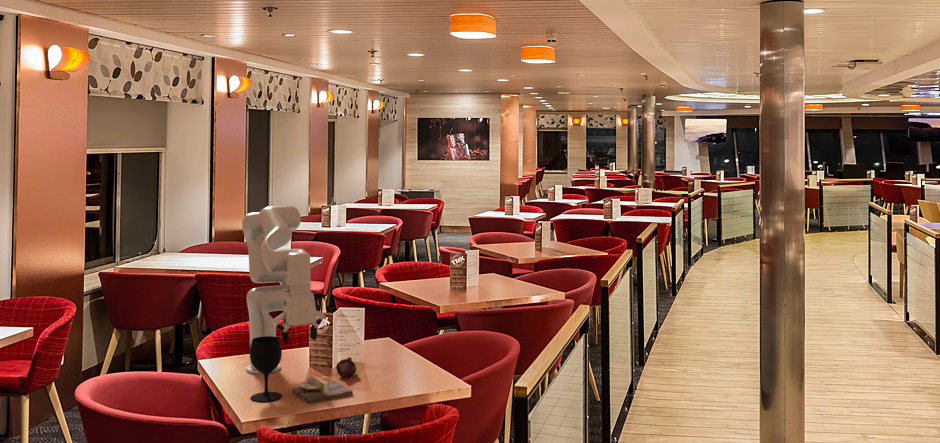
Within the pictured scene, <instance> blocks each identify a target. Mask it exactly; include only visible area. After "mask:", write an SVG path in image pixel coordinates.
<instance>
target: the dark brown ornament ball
mask: <svg viewBox="0 0 940 443" xmlns="http://www.w3.org/2000/svg"><path fill="white" fill-rule="evenodd" d="M335 368H336V371H337V372H336V373H337V375H339V376H340V377H342V378H344V379H345V378H346V379H347V378H351V377H353V375H355V374H356V372H357V367H356V363H355V362H354V361H353V360H352V357H350V356H349V357H347V358H343V359H341V360H340V361H339V362H338V363H336V367H335Z"/></svg>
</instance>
